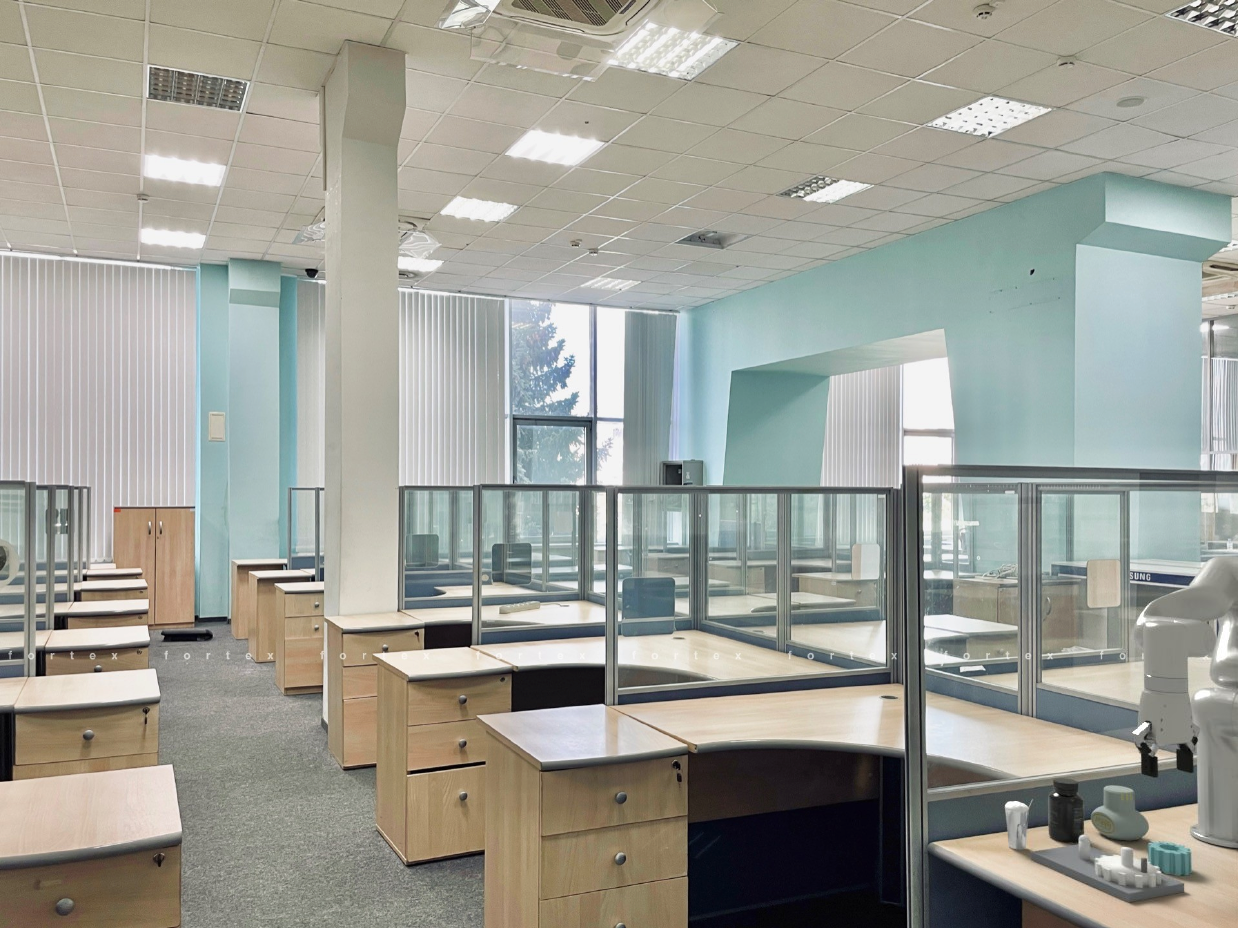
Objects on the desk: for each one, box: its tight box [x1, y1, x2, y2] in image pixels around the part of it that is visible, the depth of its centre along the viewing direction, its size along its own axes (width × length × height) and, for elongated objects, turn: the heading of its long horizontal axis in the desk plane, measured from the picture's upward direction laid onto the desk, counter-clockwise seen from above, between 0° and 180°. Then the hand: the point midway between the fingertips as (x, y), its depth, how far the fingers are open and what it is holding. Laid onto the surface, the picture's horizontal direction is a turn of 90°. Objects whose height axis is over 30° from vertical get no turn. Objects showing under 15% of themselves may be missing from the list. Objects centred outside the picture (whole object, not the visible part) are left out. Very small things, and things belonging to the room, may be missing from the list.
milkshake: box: [1004, 798, 1034, 851], centre depth 193 cm, size 4×5×10 cm
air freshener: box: [1090, 784, 1150, 841], centre depth 201 cm, size 11×8×10 cm
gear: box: [1147, 840, 1193, 877], centre depth 182 cm, size 7×7×4 cm
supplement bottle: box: [1047, 777, 1085, 844], centre depth 199 cm, size 7×7×12 cm
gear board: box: [1030, 834, 1185, 903], centre depth 179 cm, size 14×22×6 cm, turn 22°
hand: (1167, 773), depth 183 cm, fingers open, 9 cm apart
